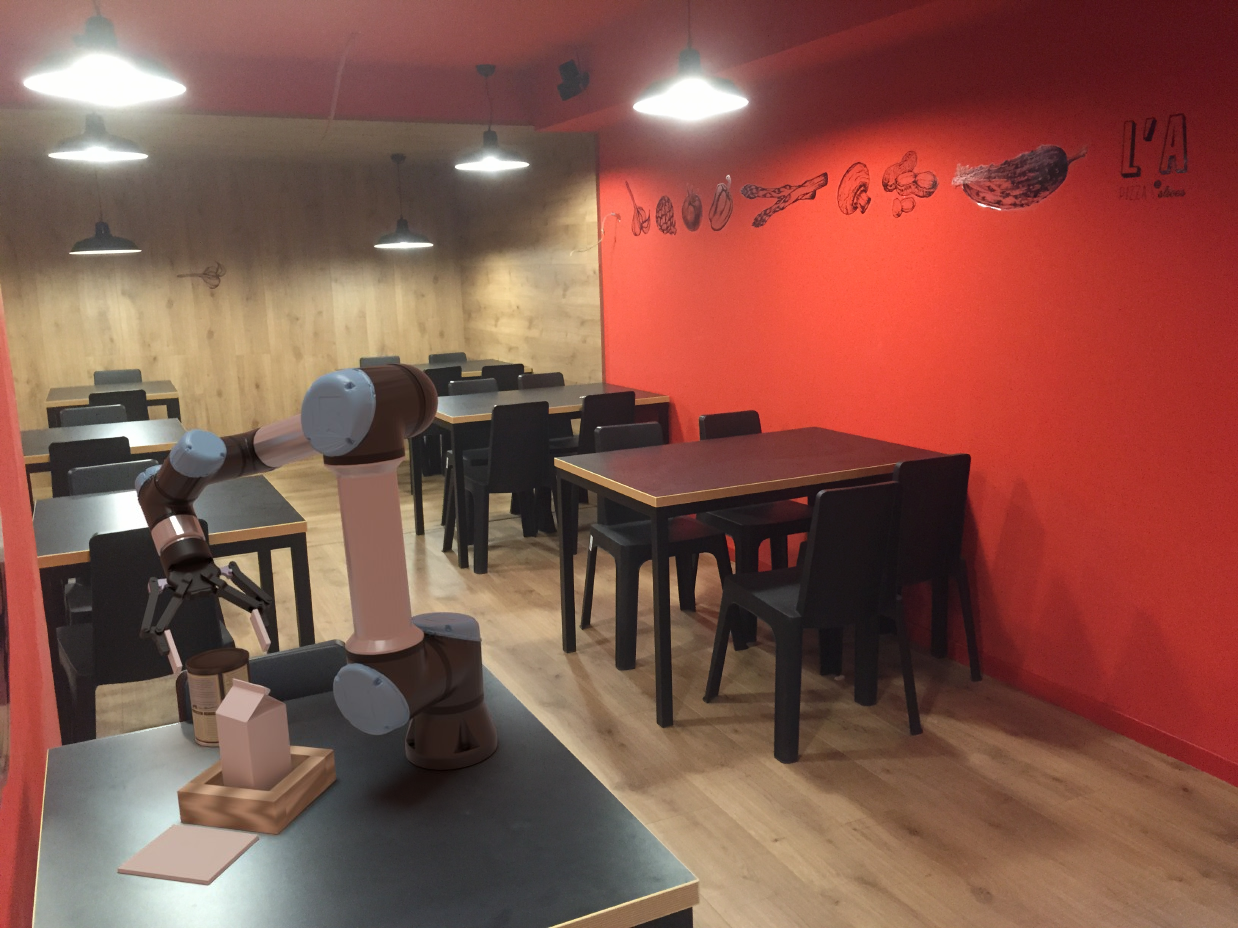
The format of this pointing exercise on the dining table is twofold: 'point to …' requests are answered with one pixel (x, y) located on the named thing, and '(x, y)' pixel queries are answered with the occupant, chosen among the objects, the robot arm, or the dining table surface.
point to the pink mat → (189, 854)
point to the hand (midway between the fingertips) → (224, 659)
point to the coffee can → (213, 687)
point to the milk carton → (253, 738)
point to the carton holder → (257, 795)
